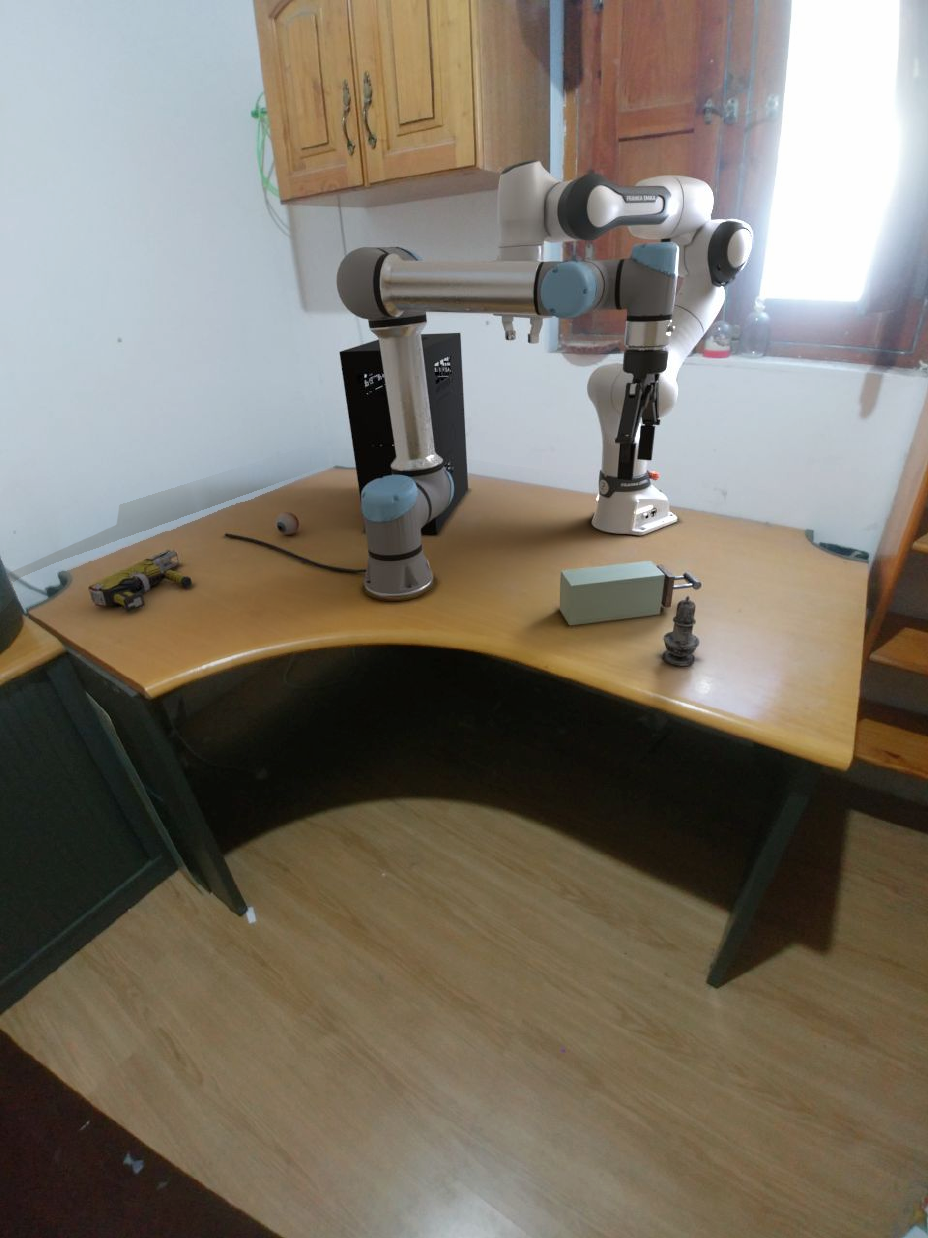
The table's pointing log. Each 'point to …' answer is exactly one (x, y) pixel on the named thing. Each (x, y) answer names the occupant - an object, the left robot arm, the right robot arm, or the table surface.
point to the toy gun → (136, 582)
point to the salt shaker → (681, 636)
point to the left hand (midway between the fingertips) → (635, 469)
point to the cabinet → (611, 592)
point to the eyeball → (287, 523)
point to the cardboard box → (375, 422)
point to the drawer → (670, 586)
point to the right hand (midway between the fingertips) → (521, 341)
